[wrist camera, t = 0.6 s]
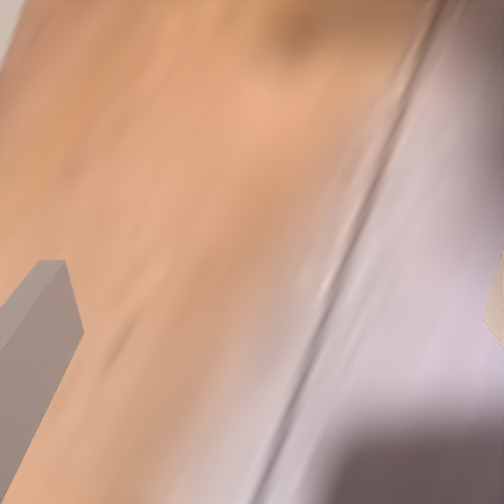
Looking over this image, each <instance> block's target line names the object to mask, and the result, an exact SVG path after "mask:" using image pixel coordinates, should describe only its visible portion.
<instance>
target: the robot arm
mask: <svg viewBox="0 0 504 504" xmlns="http://www.w3.org/2000/svg"><path fill="white" fill-rule="evenodd" d="M482 321H483V322H484V323H485V325H486V326H487V327H488V329H489V330H490V331H491V332H492V334H493V335H494V336H495V338H496V339H497V340H498V341H499V343H500V344H501V345H502V347H503V348H504V249H503V252H502V255H501V259H500V262H499V266H498V269H497V272H496V276H495V279H494V283H493V286H492V289H491V293H490V296H489V300H488V303H487V306H486V310H485V313H484V316H483V320H482ZM83 334H84V330H83V326H82V322H81V319H80V315H79V311H78V307H77V304H76V300H75V296H74V292H73V288H72V285H71V281H70V277H69V273H68V270H67V266H66V262H65V260H45V261H38V263H37V264H36V265H35V266H34V268H33V269H32V270H31V271H30V273H29V274H28V275H27V276H26V278H25V279H24V280H23V281H22V283H21V284H20V285H19V286H18V287H17V289H16V290H15V291H14V292H13V294H12V295H11V296H10V297H9V299H8V300H7V301H6V302H5V304H4V305H3V306H2V307H1V309H0V504H1V503H2V501H3V499H4V497H5V494H6V492H7V490H8V488H9V486H10V484H11V482H12V480H13V478H14V476H15V474H16V472H17V470H18V468H19V466H20V464H21V462H22V460H23V457H24V455H25V453H26V451H27V449H28V447H29V445H30V443H31V441H32V439H33V437H34V435H35V433H36V431H37V429H38V427H39V425H40V423H41V420H42V418H43V416H44V414H45V412H46V410H47V408H48V406H49V404H50V402H51V400H52V398H53V396H54V394H55V392H56V390H57V388H58V386H59V383H60V381H61V379H62V377H63V375H64V373H65V371H66V369H67V367H68V365H69V363H70V361H71V359H72V357H73V355H74V353H75V351H76V349H77V346H78V344H79V342H80V340H81V338H82V336H83Z"/></svg>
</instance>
